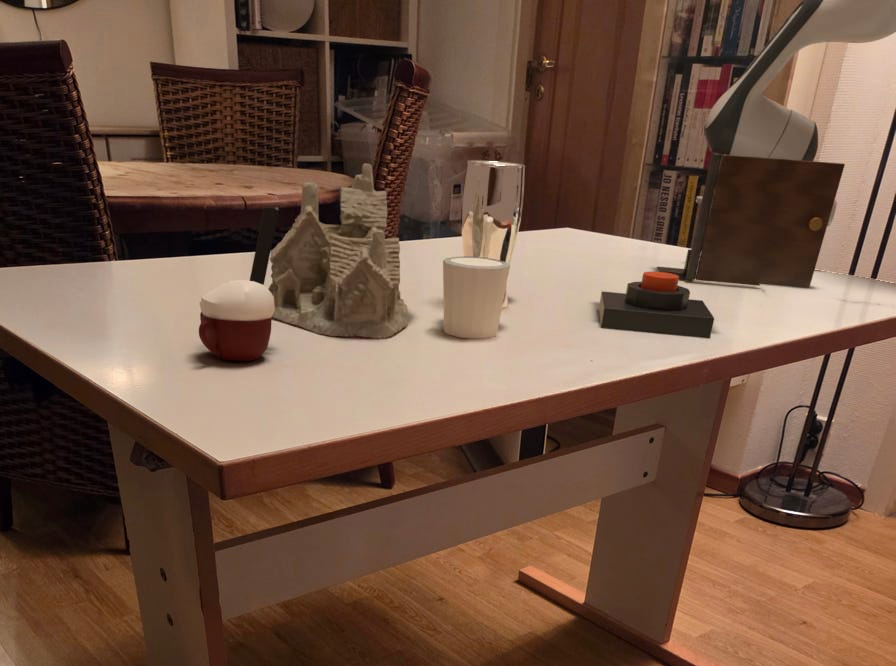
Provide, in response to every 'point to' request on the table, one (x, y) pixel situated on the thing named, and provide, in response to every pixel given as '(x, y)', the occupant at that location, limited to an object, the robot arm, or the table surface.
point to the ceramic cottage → (340, 267)
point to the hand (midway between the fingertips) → (775, 212)
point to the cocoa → (242, 306)
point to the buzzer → (655, 312)
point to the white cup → (473, 295)
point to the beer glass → (492, 209)
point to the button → (660, 281)
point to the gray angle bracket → (677, 269)
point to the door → (762, 220)
